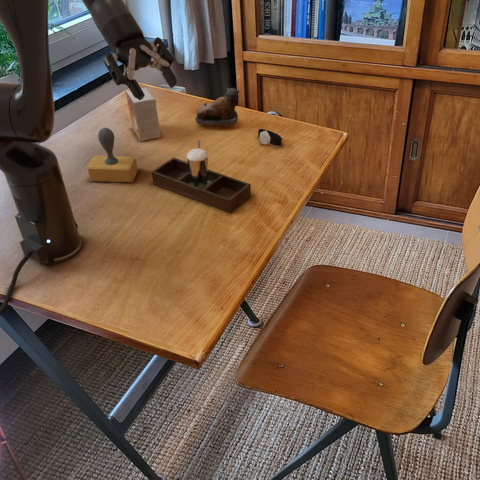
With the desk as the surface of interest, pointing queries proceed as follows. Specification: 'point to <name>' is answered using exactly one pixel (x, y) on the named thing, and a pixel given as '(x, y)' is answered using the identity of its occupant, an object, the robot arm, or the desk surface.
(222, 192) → the tray
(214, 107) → the brown animal figure
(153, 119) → the small box
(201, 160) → the milkshake
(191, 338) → the desk surface
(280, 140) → the watch
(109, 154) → the rubber stamp
